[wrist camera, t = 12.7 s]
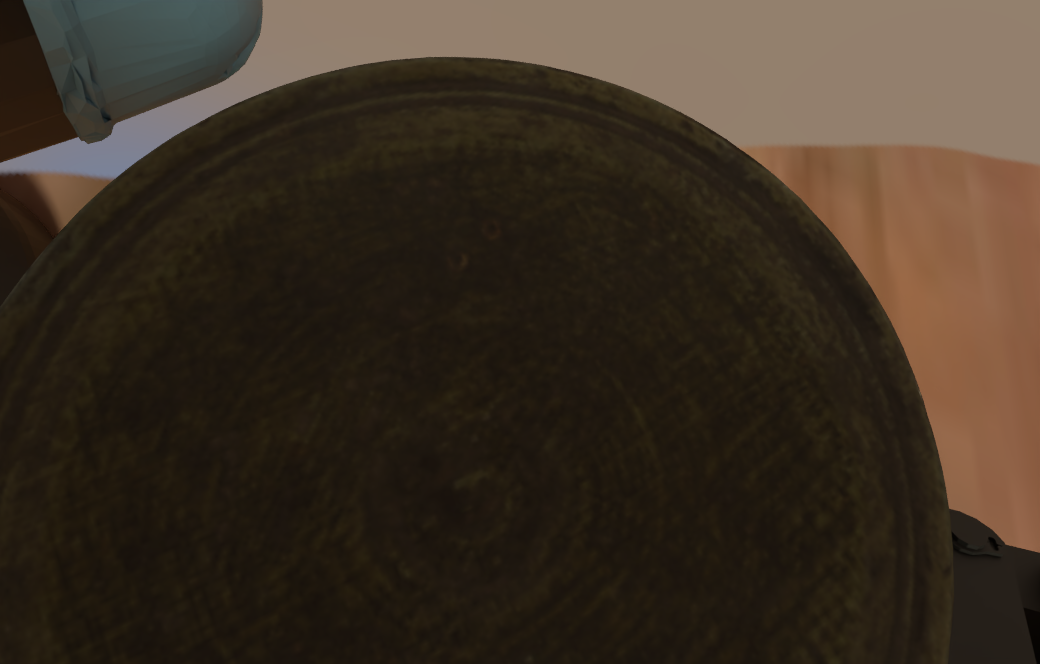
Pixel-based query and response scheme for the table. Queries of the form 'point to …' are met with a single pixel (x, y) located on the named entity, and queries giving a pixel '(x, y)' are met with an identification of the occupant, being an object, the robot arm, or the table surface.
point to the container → (460, 397)
